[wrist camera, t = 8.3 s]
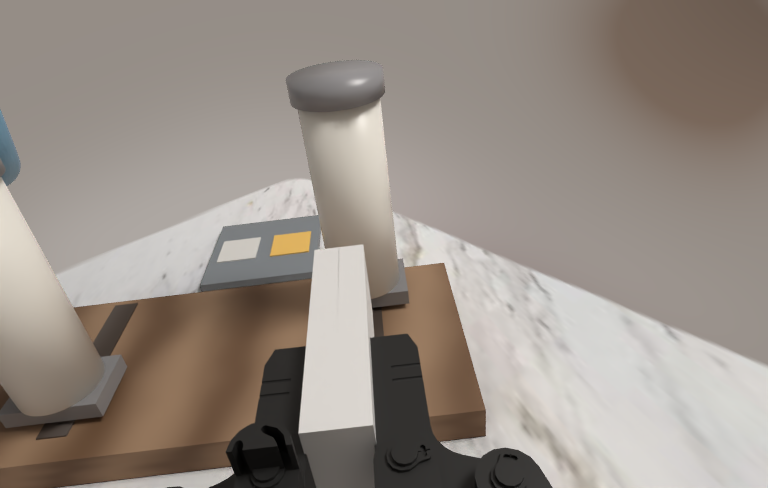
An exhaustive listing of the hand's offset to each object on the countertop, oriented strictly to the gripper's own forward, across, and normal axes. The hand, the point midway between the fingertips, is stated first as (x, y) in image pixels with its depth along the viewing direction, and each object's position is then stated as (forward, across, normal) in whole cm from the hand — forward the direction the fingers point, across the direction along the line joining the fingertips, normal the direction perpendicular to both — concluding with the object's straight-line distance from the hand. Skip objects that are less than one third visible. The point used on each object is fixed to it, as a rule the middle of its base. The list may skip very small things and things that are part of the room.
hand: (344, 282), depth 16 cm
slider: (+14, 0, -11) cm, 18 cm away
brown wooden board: (+10, -8, -14) cm, 19 cm away
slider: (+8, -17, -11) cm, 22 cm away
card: (+24, -9, -14) cm, 29 cm away
